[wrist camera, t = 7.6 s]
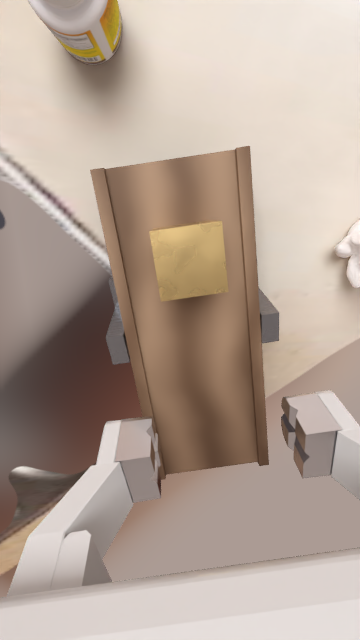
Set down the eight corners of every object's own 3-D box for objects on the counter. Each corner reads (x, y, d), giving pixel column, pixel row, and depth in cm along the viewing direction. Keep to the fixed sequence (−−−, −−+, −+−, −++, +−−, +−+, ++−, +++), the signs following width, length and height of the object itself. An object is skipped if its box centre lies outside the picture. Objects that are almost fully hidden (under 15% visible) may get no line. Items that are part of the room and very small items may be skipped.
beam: (240, 154, 26) (249, 145, 23) (260, 444, 35) (268, 464, 32) (98, 175, 26) (90, 169, 23) (157, 459, 35) (156, 480, 32)
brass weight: (209, 220, 25) (221, 220, 19) (215, 276, 26) (228, 291, 21) (153, 228, 25) (149, 231, 19) (162, 283, 26) (160, 301, 21)
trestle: (251, 165, 31) (288, 165, 22) (255, 317, 39) (283, 361, 30) (88, 190, 31) (59, 199, 23) (124, 336, 39) (114, 385, 30)
